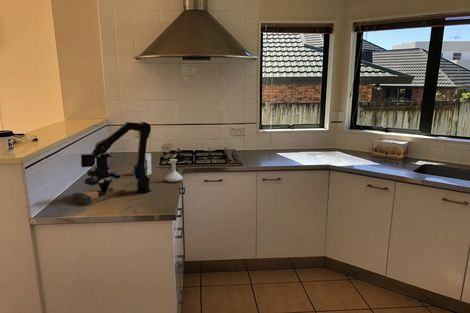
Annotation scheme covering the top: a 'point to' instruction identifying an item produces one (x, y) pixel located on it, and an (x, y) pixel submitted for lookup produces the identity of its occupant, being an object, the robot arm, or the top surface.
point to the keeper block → (91, 194)
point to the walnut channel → (87, 199)
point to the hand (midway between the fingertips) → (104, 193)
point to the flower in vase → (173, 175)
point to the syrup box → (147, 163)
